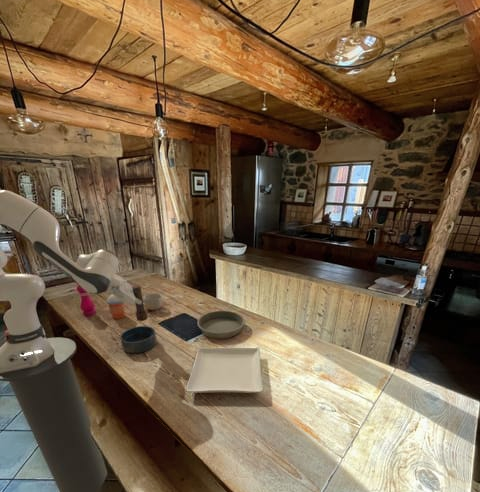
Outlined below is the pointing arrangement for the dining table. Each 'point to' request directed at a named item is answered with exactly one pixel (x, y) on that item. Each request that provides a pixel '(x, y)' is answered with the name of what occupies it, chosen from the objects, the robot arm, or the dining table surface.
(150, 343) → the bowl
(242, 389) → the square plate
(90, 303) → the pepper mill
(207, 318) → the cake pan
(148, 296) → the teacup
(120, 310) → the cup with straw
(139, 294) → the dark brown spice grinder
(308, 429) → the dining table surface
